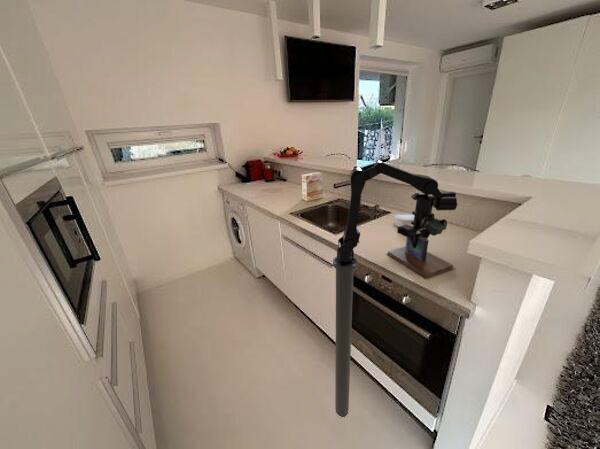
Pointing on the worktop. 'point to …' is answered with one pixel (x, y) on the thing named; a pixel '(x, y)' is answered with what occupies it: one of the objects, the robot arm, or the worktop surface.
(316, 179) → the coffeecake box
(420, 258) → the flask
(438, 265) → the serving board
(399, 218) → the ramekin
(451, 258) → the worktop surface
